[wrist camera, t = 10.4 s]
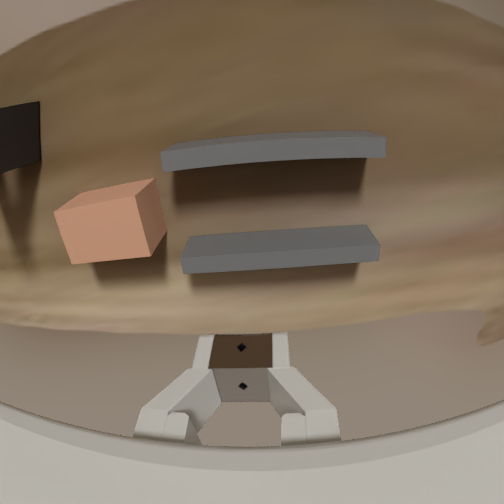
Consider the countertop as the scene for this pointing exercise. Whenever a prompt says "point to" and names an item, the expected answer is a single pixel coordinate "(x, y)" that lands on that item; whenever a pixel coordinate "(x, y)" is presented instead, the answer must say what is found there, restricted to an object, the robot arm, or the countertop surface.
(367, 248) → the channel
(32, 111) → the phone stand
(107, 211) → the block
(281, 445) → the robot arm
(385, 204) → the countertop surface
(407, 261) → the countertop surface
